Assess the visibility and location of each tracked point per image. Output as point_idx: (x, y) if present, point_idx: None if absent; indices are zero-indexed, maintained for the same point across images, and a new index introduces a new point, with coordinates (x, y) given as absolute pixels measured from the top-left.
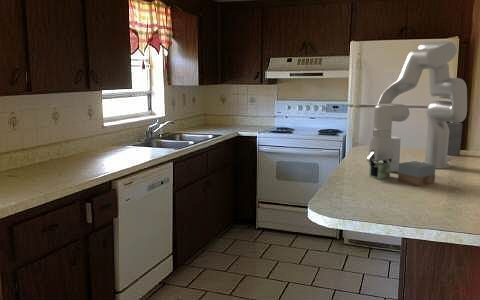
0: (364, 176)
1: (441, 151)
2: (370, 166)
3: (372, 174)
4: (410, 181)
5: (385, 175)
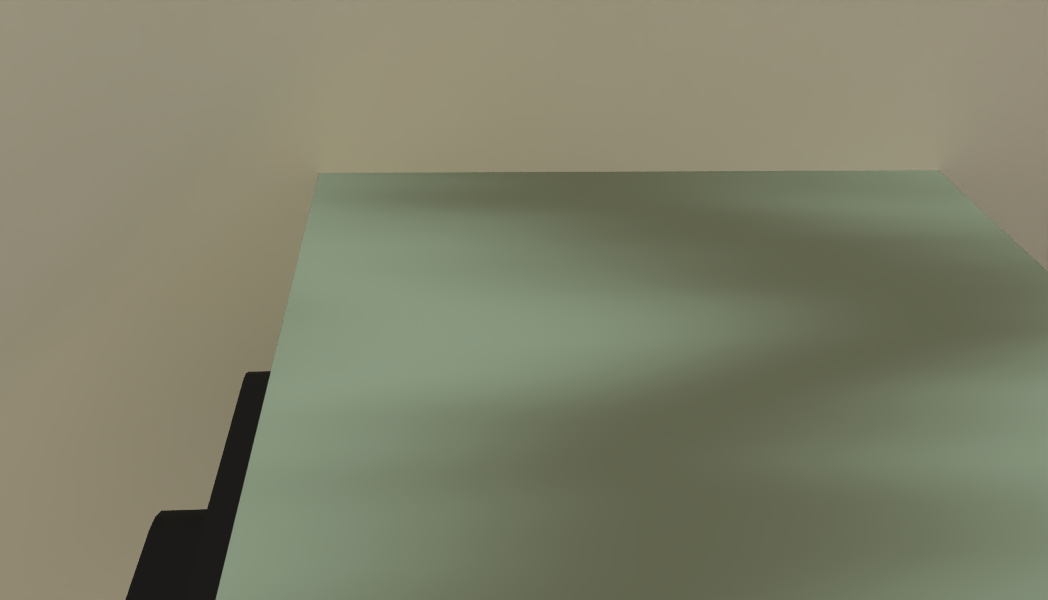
0: (105, 55)
1: None
2: (243, 570)
3: None
4: None
5: None
